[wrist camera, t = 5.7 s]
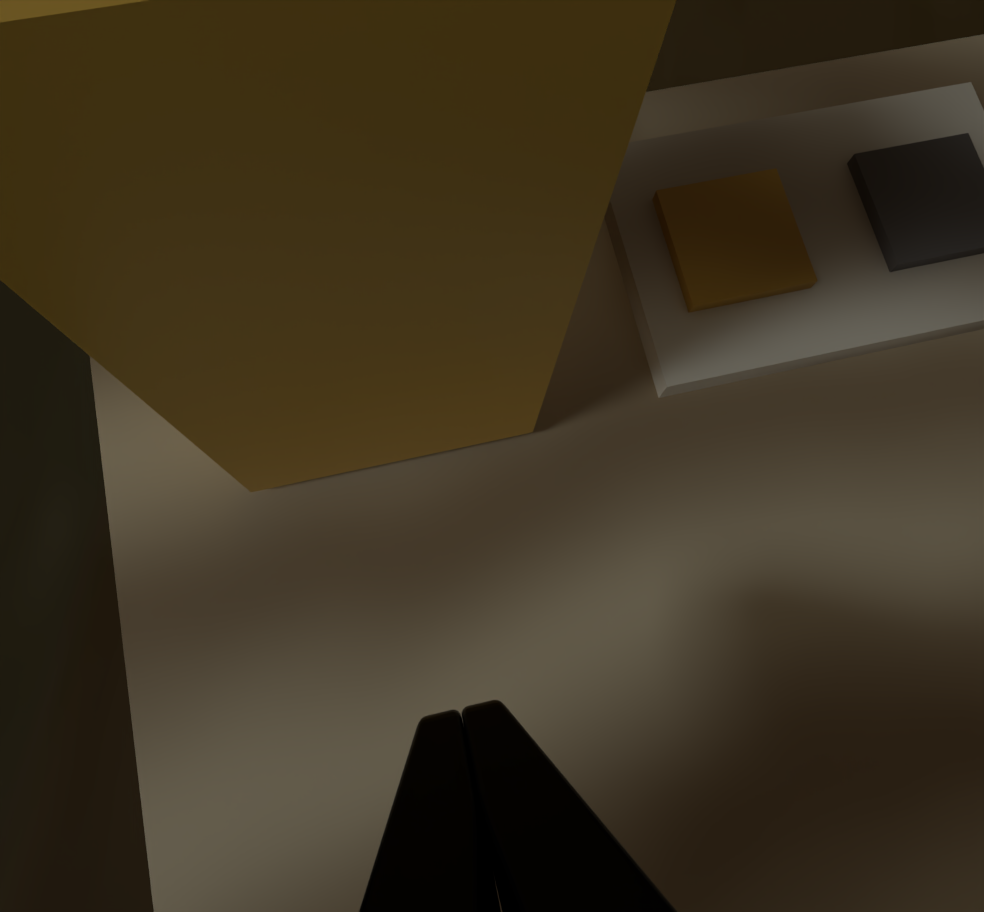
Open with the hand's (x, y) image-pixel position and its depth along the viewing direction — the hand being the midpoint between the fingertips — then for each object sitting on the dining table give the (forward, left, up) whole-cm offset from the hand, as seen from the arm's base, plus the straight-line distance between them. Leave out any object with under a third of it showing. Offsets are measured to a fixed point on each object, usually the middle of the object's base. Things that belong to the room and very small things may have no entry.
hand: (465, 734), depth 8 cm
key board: (+3, -9, -7) cm, 11 cm away
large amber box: (+6, 0, -5) cm, 8 cm away
